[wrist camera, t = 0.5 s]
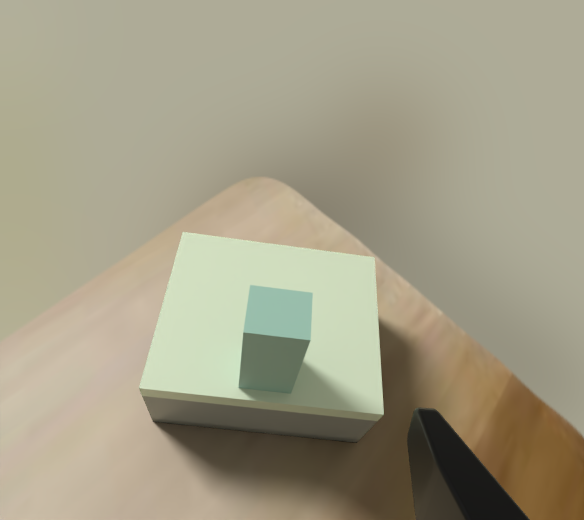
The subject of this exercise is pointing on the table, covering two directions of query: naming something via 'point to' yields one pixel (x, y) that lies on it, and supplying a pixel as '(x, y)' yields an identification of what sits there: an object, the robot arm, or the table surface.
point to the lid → (268, 329)
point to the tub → (256, 420)
